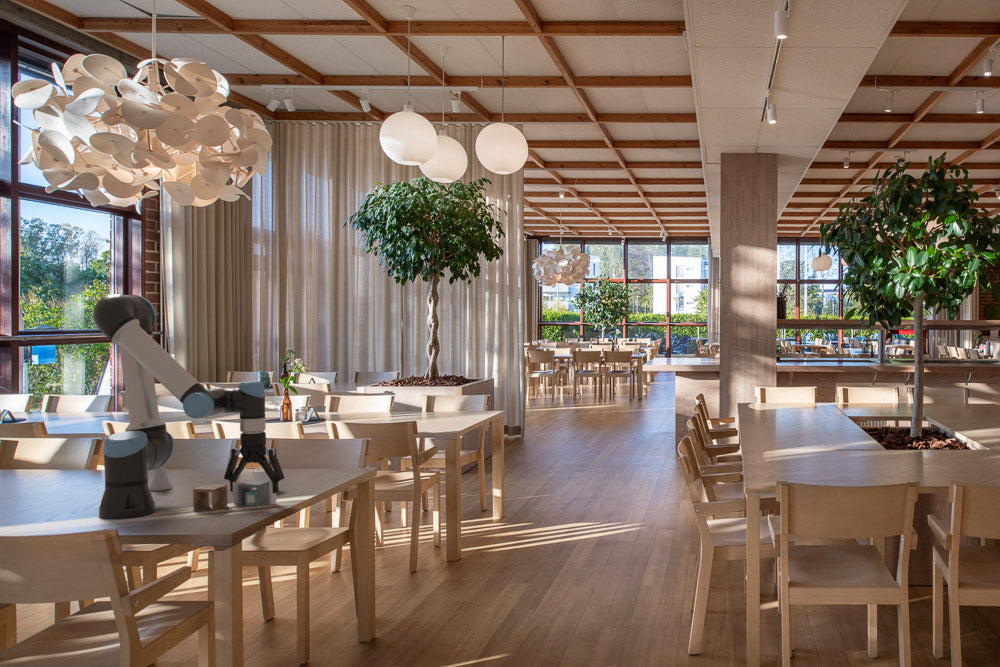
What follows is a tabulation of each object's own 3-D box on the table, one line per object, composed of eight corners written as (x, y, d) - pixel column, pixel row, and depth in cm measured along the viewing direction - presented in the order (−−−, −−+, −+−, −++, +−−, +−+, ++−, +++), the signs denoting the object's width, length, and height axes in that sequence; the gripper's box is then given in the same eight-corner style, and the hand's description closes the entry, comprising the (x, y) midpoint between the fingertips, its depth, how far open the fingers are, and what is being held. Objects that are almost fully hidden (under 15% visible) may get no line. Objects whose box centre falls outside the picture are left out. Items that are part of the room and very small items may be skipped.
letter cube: (257, 505, 263) (256, 492, 263) (245, 505, 264) (244, 491, 264) (263, 503, 267) (263, 489, 267) (251, 502, 268) (251, 489, 268)
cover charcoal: (259, 506, 261) (258, 485, 261) (238, 506, 263) (237, 484, 263) (270, 501, 268) (270, 480, 268) (249, 501, 270) (249, 480, 270)
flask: (164, 491, 288) (163, 461, 288) (144, 491, 289) (143, 461, 289) (176, 487, 295) (175, 458, 295) (157, 487, 296) (156, 457, 296)
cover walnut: (214, 511, 256) (214, 489, 256) (193, 510, 257) (193, 488, 257) (227, 506, 263) (227, 484, 263) (206, 505, 264) (206, 484, 264)
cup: (271, 486, 293) (271, 466, 293) (282, 491, 285) (282, 470, 285) (248, 489, 288) (248, 469, 288) (259, 494, 280) (259, 473, 280)
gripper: (294, 430, 266) (296, 501, 267) (224, 430, 272) (225, 499, 272) (283, 433, 259) (284, 506, 259) (210, 433, 264) (212, 504, 265)
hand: (254, 503), depth 266 cm, fingers open, 12 cm apart
